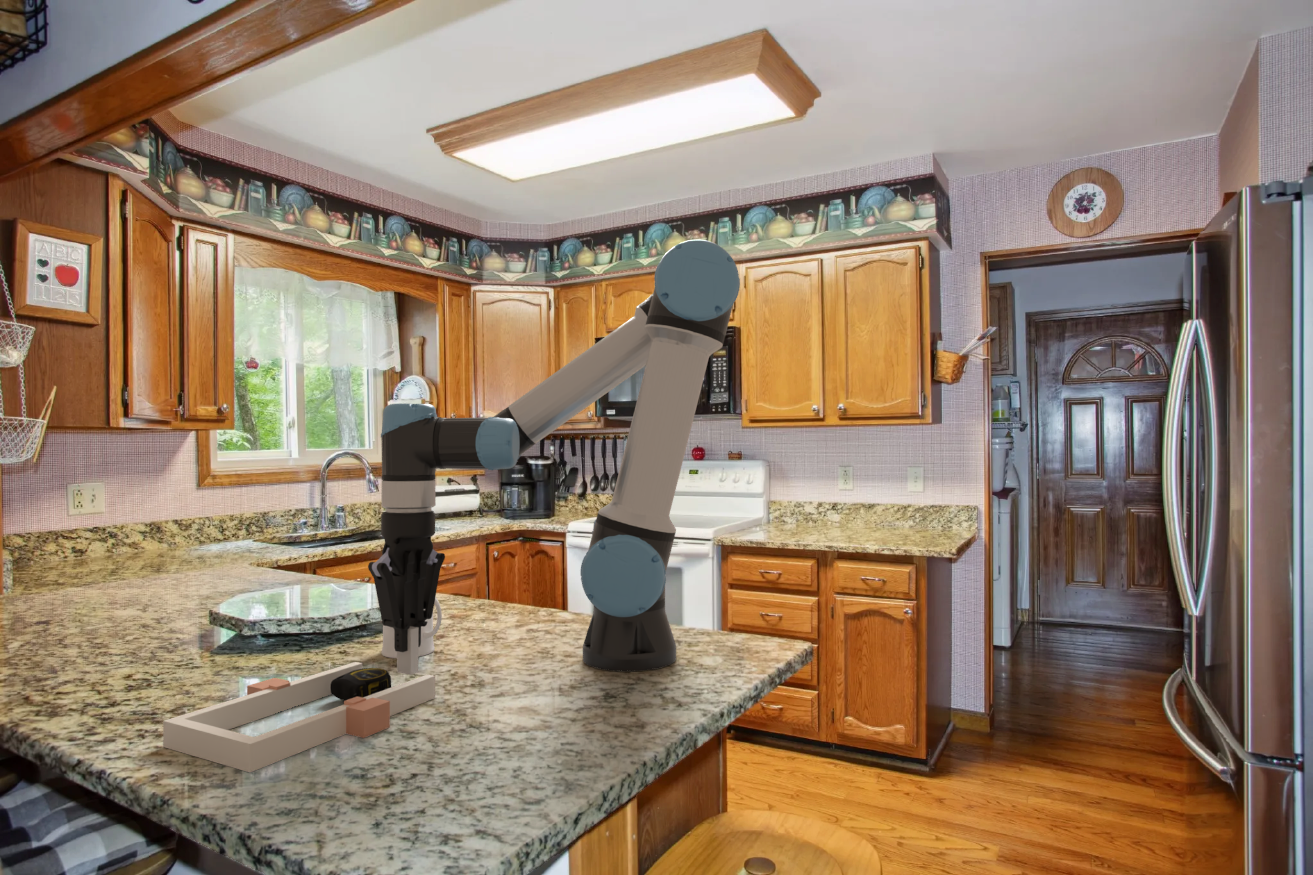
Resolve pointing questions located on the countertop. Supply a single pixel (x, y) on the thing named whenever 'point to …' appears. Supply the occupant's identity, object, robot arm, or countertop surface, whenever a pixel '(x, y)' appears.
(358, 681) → the tape measure
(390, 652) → the mug
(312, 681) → the slotted beam
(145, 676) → the countertop surface
